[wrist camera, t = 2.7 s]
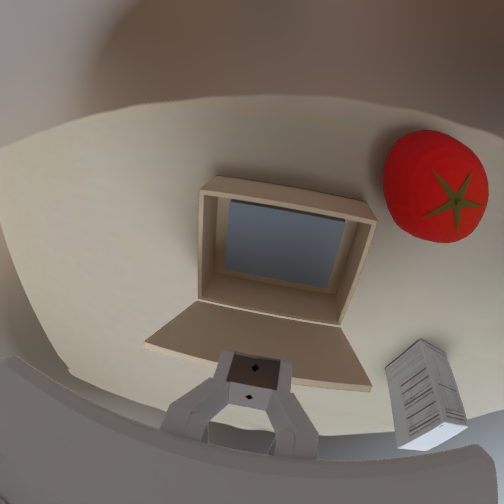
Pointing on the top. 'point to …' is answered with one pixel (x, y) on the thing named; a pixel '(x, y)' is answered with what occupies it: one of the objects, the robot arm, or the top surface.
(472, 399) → the top surface
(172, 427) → the robot arm
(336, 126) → the top surface
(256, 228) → the box
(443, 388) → the supplement box
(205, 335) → the lid
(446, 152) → the tomato
